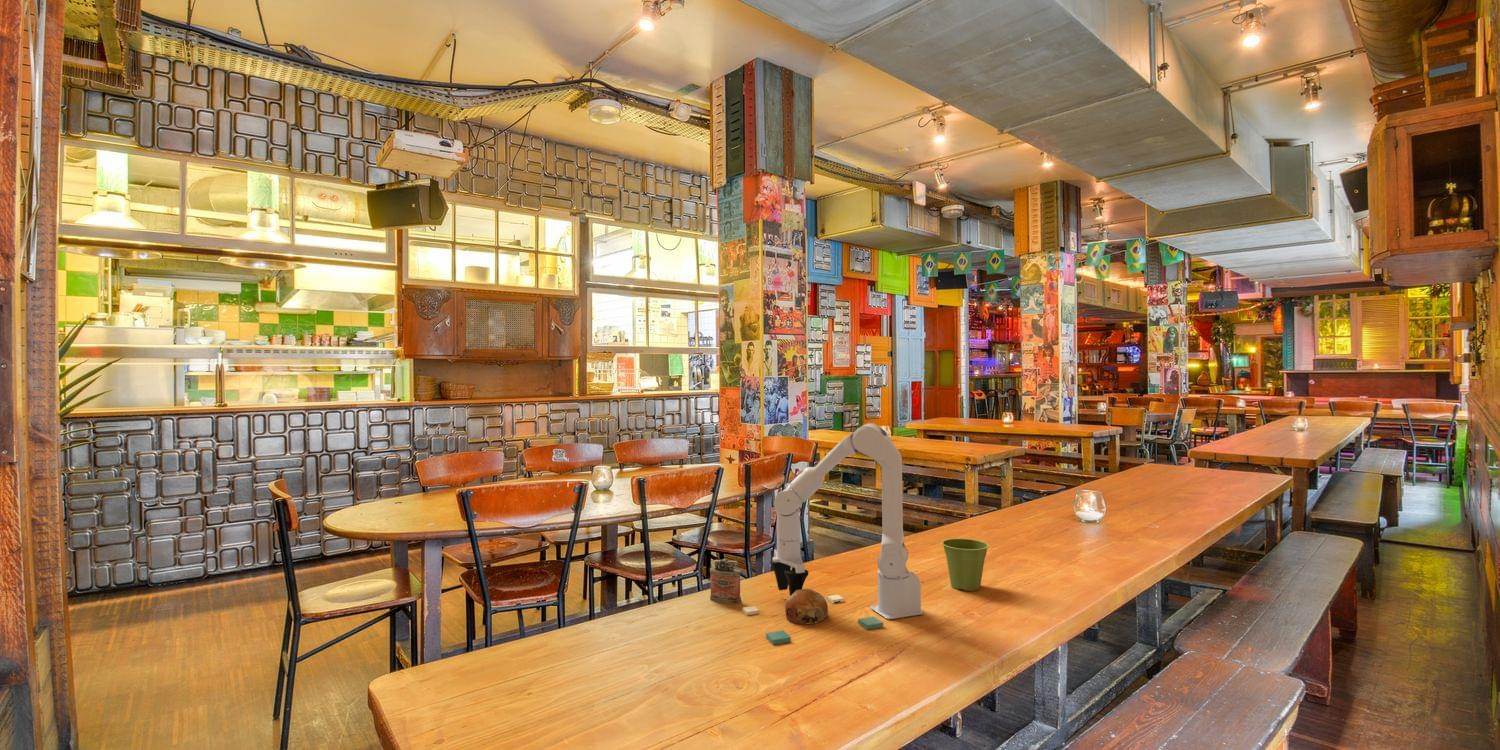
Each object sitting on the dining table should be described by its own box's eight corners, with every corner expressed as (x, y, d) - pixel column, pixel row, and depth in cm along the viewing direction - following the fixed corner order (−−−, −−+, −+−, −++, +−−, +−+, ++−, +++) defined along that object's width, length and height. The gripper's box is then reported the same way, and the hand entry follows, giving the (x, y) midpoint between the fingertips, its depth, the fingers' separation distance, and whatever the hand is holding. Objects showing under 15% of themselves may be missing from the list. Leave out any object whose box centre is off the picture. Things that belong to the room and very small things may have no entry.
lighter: (707, 600, 165) (707, 560, 165) (713, 596, 168) (713, 556, 168) (737, 604, 162) (737, 563, 162) (743, 600, 165) (742, 559, 165)
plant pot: (999, 588, 172) (999, 544, 172) (969, 597, 165) (969, 552, 165) (961, 576, 182) (961, 535, 182) (931, 585, 175) (931, 542, 175)
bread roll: (830, 630, 155) (833, 594, 158) (821, 625, 146) (824, 587, 150) (789, 625, 159) (792, 590, 162) (777, 620, 150) (781, 583, 153)
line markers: (839, 597, 166) (839, 593, 166) (883, 627, 147) (883, 622, 147) (740, 611, 158) (740, 607, 158) (773, 644, 138) (773, 640, 138)
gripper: (762, 533, 169) (763, 587, 169) (784, 547, 155) (785, 606, 155) (788, 530, 171) (788, 583, 171) (812, 544, 158) (813, 602, 158)
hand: (789, 594), depth 163 cm, fingers open, 7 cm apart
